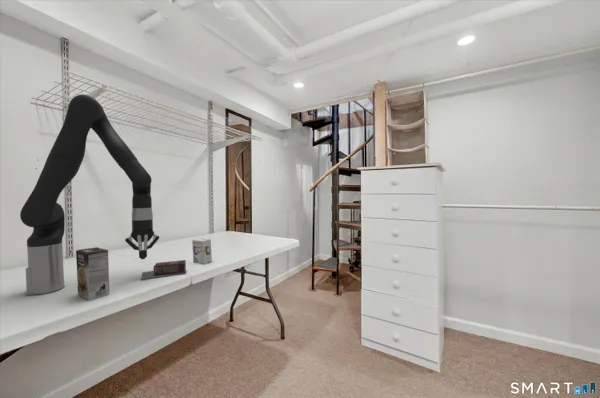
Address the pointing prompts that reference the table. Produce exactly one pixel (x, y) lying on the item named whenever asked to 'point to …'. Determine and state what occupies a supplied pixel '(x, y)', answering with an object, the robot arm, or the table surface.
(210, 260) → the ink box
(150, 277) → the mat
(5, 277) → the table surface
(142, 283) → the table surface
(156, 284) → the table surface
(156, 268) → the box
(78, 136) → the robot arm
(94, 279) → the coffee box
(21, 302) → the table surface
